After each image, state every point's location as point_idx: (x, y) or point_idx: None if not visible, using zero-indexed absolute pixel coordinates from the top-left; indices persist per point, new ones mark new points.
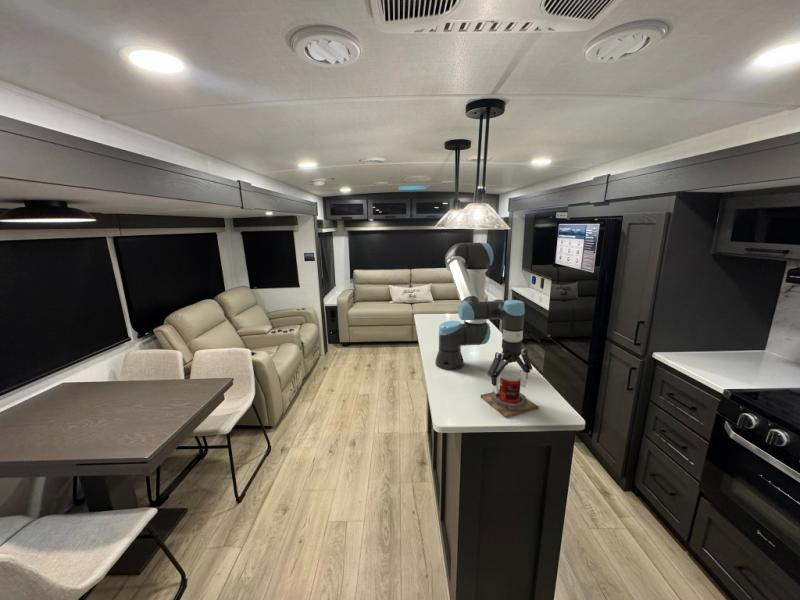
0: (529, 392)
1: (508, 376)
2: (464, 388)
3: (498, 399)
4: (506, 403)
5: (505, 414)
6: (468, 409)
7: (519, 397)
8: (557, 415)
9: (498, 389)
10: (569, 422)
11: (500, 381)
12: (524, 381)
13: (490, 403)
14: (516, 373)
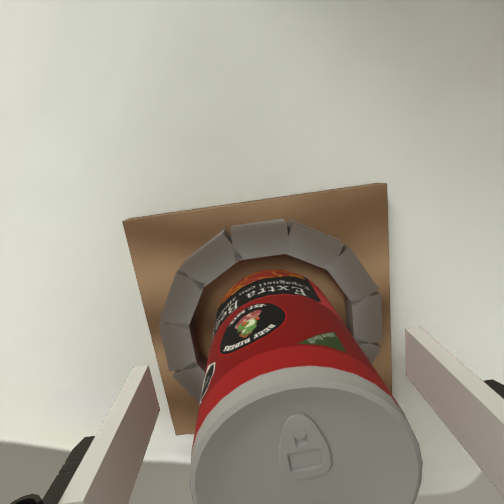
0: (475, 232)
1: (279, 476)
2: (53, 57)
3: (191, 345)
4: None
5: (176, 434)
6: (10, 324)
7: (348, 324)
8: (427, 448)
9: (150, 437)
10: (430, 493)
11: (200, 402)
12: (438, 412)
13: (149, 321)
14: (416, 456)
